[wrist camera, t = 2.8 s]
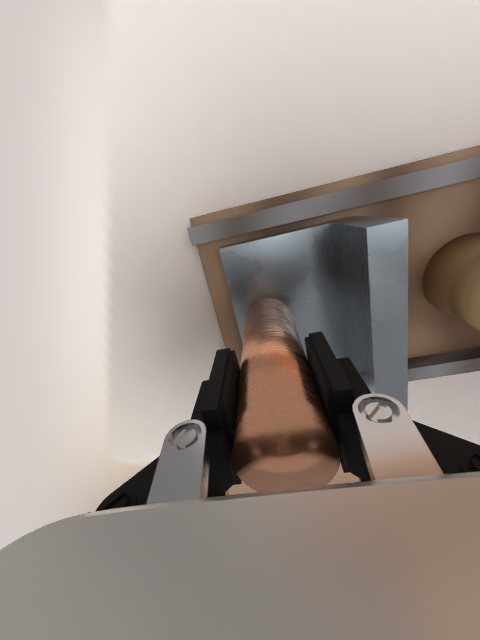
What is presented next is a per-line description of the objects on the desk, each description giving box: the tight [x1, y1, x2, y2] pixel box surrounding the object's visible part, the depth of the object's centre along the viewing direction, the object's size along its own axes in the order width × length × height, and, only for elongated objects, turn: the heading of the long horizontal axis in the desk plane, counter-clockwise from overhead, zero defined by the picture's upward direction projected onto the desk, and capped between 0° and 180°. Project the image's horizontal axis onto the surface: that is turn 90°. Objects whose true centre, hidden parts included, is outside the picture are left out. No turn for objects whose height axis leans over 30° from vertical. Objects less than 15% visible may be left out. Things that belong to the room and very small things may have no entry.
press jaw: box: [219, 216, 408, 492], centre depth 12 cm, size 8×10×12 cm
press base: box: [187, 146, 480, 381], centre depth 15 cm, size 22×14×8 cm, turn 103°
